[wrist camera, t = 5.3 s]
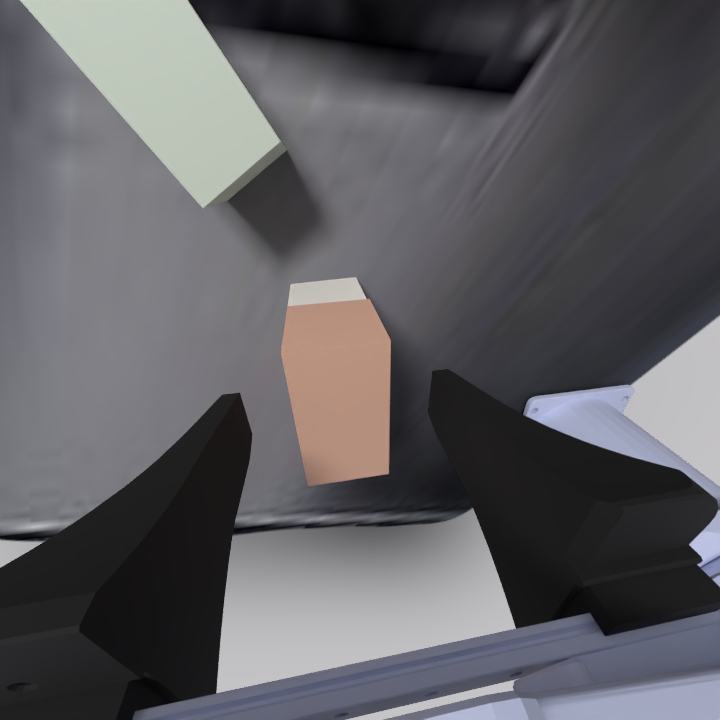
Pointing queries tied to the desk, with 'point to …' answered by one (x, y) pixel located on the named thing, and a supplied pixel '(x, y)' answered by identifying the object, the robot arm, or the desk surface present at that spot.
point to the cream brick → (325, 291)
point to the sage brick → (168, 88)
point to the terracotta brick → (339, 388)
